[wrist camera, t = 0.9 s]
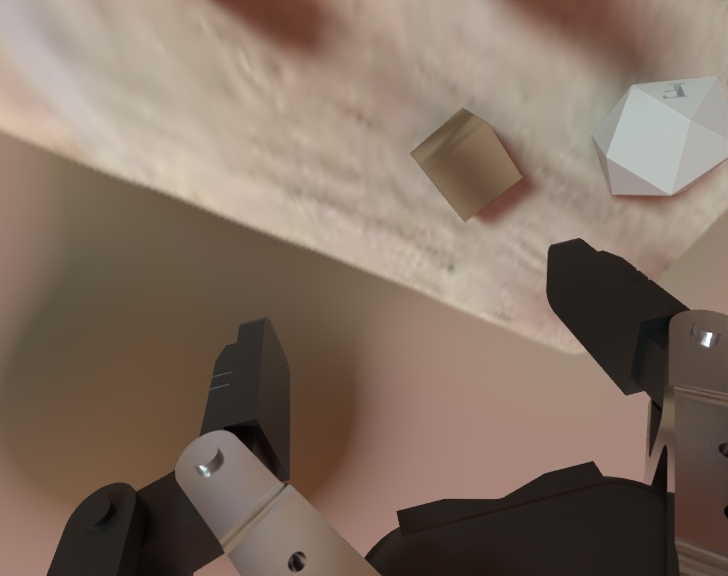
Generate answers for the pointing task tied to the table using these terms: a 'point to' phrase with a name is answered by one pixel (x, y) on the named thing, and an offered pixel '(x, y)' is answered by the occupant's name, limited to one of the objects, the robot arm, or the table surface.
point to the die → (664, 136)
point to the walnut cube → (467, 163)
